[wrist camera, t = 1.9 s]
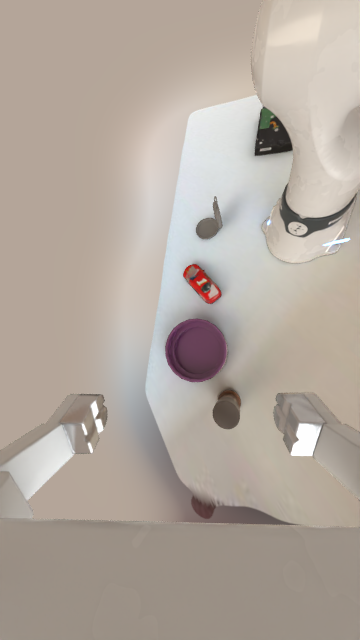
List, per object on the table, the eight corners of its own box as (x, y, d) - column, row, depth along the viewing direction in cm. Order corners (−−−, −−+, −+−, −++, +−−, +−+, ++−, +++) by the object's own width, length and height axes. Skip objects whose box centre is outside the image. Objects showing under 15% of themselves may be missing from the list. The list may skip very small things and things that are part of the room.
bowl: (190, 312, 53) (186, 308, 49) (239, 341, 48) (239, 339, 43) (161, 358, 53) (154, 357, 49) (207, 392, 47) (203, 395, 43)
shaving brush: (225, 385, 46) (221, 393, 35) (245, 399, 45) (246, 412, 33) (214, 403, 46) (206, 417, 35) (233, 417, 45) (231, 437, 33)
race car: (181, 275, 56) (177, 269, 52) (195, 263, 55) (192, 256, 52) (208, 308, 52) (206, 303, 48) (224, 295, 51) (223, 290, 47)
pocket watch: (192, 233, 58) (183, 208, 48) (211, 211, 57) (205, 183, 48) (211, 247, 55) (205, 224, 46) (231, 225, 54) (230, 197, 45)
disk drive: (293, 152, 53) (297, 108, 55) (296, 141, 51) (300, 96, 53) (254, 157, 57) (259, 116, 59) (254, 148, 54) (260, 105, 56)
